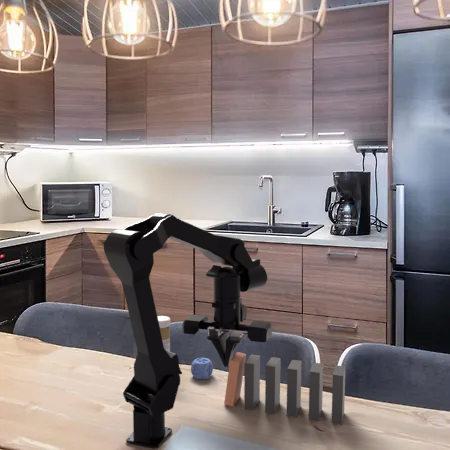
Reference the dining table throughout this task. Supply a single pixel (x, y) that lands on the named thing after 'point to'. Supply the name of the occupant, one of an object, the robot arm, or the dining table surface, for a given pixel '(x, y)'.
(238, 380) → the domino
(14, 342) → the dining table surface
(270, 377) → the domino
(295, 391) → the domino
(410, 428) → the dining table surface
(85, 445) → the dining table surface
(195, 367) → the decorative dice
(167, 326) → the sprinkles bottle
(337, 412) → the domino
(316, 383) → the domino
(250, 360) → the domino
